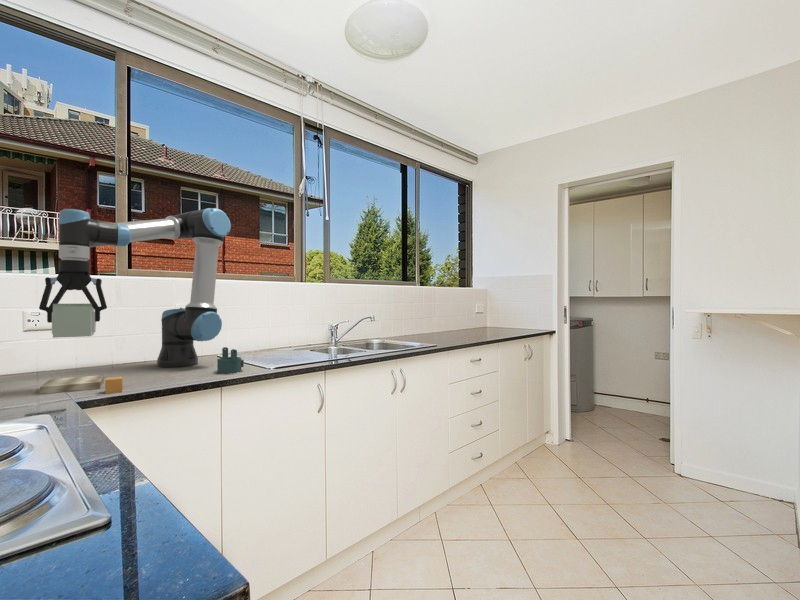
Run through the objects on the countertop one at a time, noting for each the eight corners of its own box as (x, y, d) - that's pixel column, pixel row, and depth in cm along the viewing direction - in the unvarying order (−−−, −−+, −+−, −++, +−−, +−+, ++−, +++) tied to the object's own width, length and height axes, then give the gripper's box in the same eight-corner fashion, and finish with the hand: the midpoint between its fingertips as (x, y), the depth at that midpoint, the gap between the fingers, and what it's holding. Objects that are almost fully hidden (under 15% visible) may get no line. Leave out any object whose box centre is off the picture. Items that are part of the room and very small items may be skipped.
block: (122, 389, 125) (122, 376, 125) (121, 392, 121) (121, 378, 121) (106, 391, 123) (106, 377, 123) (105, 393, 119) (105, 380, 119)
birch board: (104, 380, 138) (104, 374, 138) (100, 388, 126) (99, 382, 126) (50, 385, 131) (50, 379, 131) (39, 394, 119) (39, 387, 119)
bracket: (234, 374, 150) (234, 349, 150) (211, 373, 152) (211, 349, 152) (247, 370, 159) (247, 347, 159) (225, 369, 161) (225, 346, 161)
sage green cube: (94, 334, 134) (94, 303, 134) (90, 336, 127) (90, 303, 127) (58, 335, 130) (58, 303, 130) (52, 337, 122) (52, 303, 122)
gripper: (24, 257, 119) (24, 335, 119) (116, 260, 131) (116, 332, 131) (31, 259, 126) (31, 333, 126) (117, 262, 137) (117, 330, 137)
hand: (74, 332), depth 128 cm, fingers closed on sage green cube, 9 cm apart
